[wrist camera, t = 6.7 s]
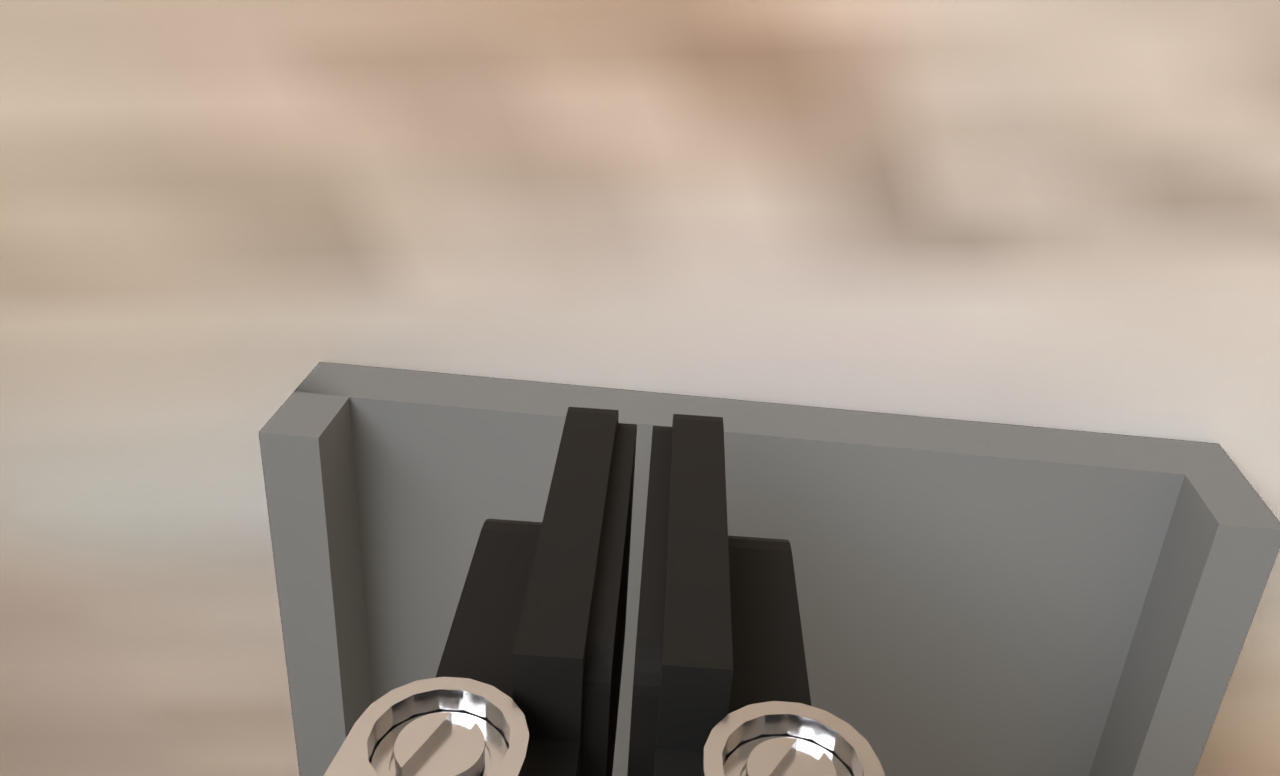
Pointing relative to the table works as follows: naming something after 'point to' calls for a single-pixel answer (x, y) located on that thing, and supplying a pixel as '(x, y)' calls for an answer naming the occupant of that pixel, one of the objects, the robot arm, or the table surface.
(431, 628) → the tray
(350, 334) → the table surface
